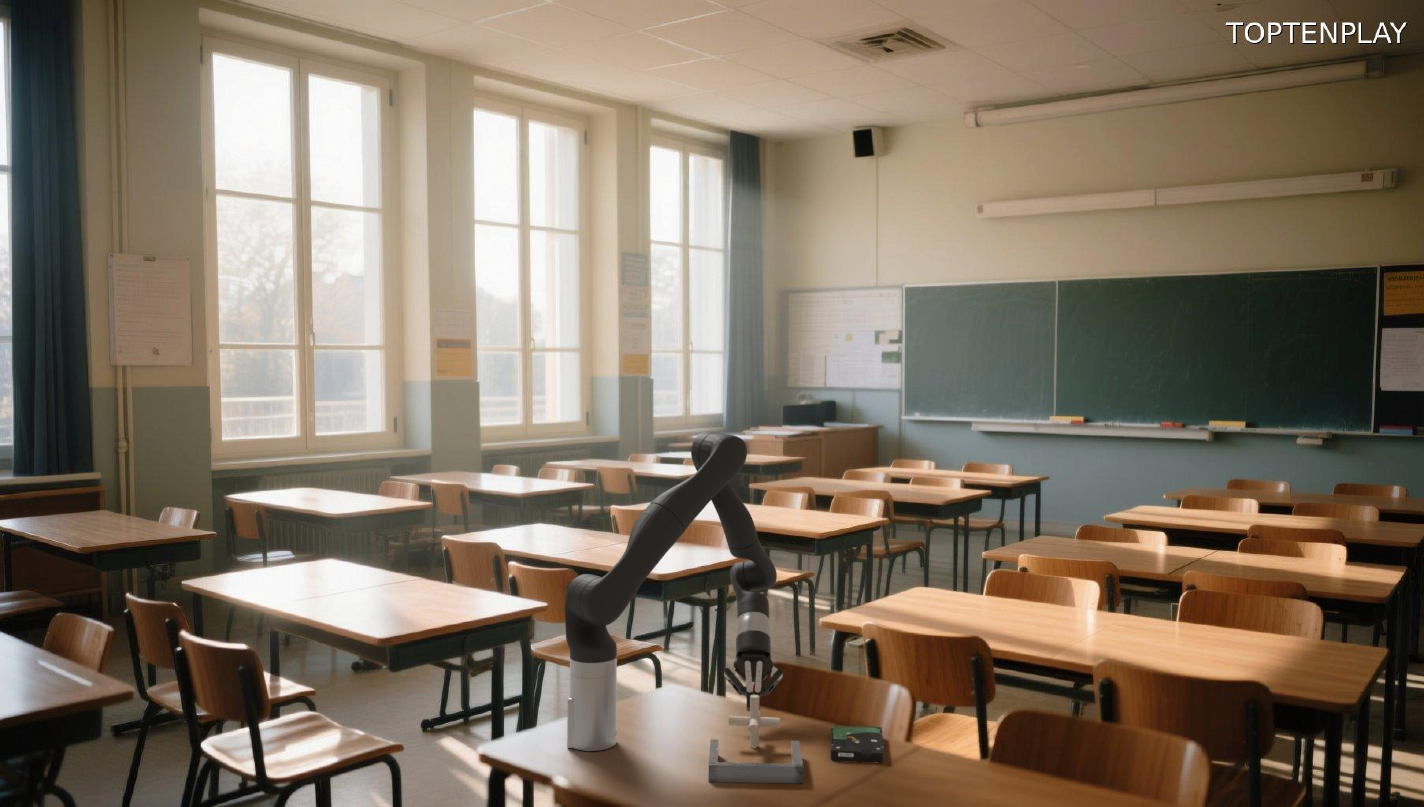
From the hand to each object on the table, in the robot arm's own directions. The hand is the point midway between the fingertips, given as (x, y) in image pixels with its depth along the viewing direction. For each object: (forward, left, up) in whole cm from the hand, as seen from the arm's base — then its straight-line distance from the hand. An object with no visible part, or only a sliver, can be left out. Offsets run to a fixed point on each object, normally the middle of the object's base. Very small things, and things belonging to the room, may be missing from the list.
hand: (753, 712), depth 207 cm
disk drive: (+20, -8, -5) cm, 22 cm away
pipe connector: (0, -8, -5) cm, 9 cm away
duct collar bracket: (0, -19, -4) cm, 20 cm away
